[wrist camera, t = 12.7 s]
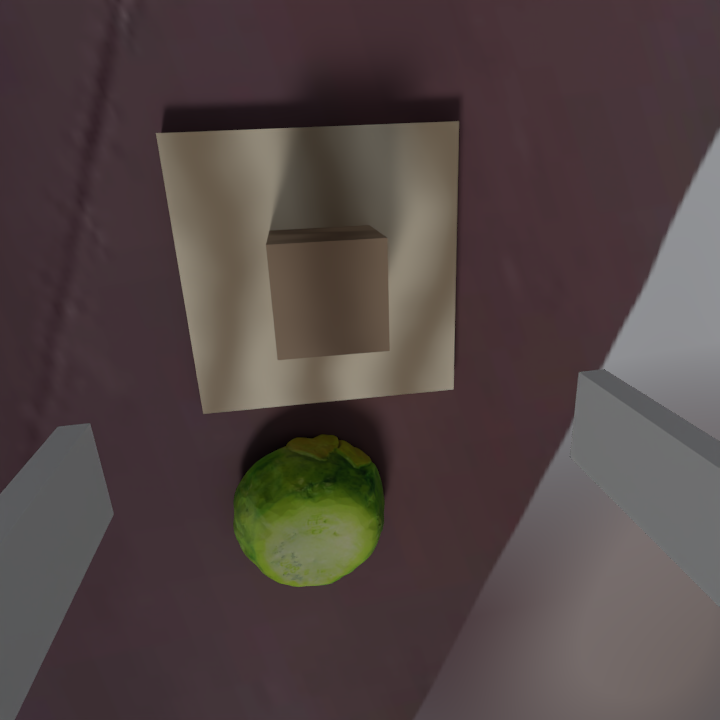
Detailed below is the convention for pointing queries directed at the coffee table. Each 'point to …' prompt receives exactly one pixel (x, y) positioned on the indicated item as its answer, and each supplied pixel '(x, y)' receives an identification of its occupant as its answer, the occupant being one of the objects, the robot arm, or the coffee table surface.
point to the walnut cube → (329, 291)
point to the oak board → (301, 211)
